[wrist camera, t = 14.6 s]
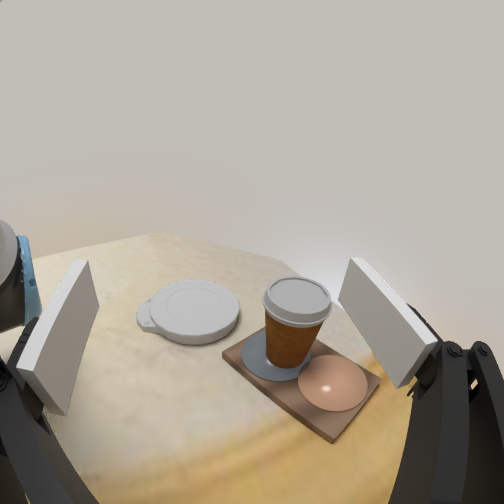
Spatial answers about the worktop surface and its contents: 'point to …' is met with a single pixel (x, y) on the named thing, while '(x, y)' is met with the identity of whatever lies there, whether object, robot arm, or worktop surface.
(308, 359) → the slate disc
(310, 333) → the disposable coffee cup
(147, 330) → the lid
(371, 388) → the walnut board
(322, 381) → the terracotta disc
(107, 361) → the worktop surface
